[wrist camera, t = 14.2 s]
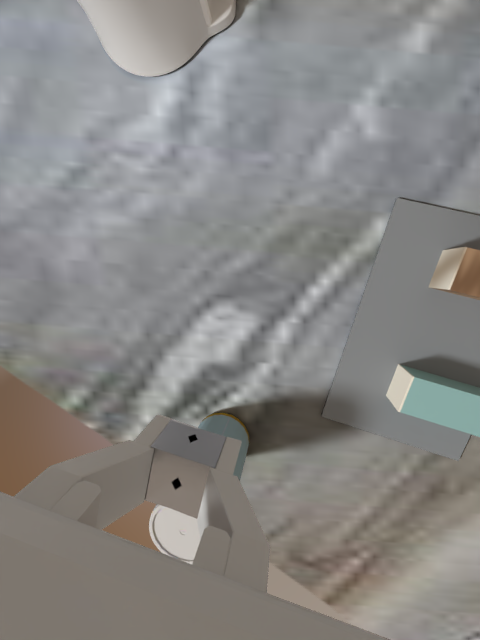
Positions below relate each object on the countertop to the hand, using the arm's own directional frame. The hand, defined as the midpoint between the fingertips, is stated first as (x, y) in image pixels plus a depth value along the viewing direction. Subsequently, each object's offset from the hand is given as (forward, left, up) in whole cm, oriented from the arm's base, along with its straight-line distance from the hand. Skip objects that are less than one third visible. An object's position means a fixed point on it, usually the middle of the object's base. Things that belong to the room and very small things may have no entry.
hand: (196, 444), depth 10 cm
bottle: (+17, -1, -26) cm, 31 cm away
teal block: (+3, +16, -24) cm, 29 cm away
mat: (-3, +18, -26) cm, 32 cm away
